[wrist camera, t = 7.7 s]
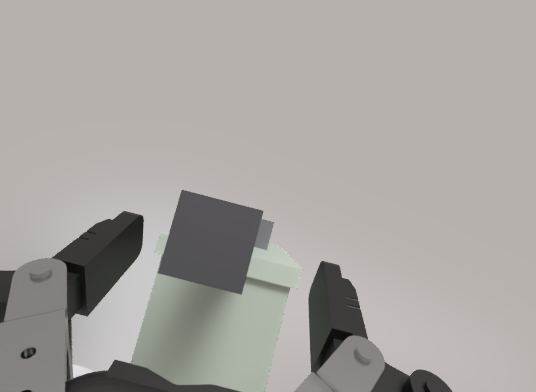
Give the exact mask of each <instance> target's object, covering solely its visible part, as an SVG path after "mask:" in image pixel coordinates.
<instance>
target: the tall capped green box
mask: <svg viewBox="0 0 536 392" xmlns="http://www.w3.org/2000/svg"><path fill="white" fill-rule="evenodd" d="M168 236H169V232H162V233H159V236H158V240H157V243H156V247H155V251H154V253H158V254H162V256H163V253H164V250H165V246H166V243H167V239H168ZM161 260H162V257H161ZM160 263H161V261H160ZM159 267H160V265H159ZM158 270H159V268H158ZM301 273H302V269H301V267H300V266H299V265H298V264H297V263H296V262H295V261H294V260H293V259H292V258H291V257H290V256H289V255H288V254H287V253H286V252H285V250H284V249H283V248H282V247H280V246H277V245H273V244H268V248H267V250H264V249H260V248H256V247H254V249H253V253H252V257H251V261H250V265H249V269H248V272H247V276H246V280H245V284H244V288H243V292H242V295H240V294H237V293H233V292H229V291H225V290H221V289H217V288H213V287H209V286H205V285H201V284H198V283H194V282H190V281H186V280H182V279H178V278H174V277H170V276H166V275H162V274H159V273H158V271H157V275H156V278H155V281H154V285H153V288H152V292H151V295H150V299H149V302H148V306H147V309H146V313H145V316H144V319H143V323H142V326H141V330H140V333H139V337H138V340H137V343H136V347H135V350H134V354H133V357H132V361H131V364H134V365H138V366H142V367H146V368H148V369H150V370H151V371H153V372H155V373H156V374H158V375H160V376H161V377H163V378H165V379H166V380H168V381H170V382H171V383H173V384H176V385H203V384H213V385H217V386H221V387H225V388H229V389H233V390H237V391H241V392H265V389H266V385H267V381H268V376H269V372H270V368H271V364H272V360H273V356H274V352H275V348H276V343H277V339H278V335H279V331H280V327H281V323H282V318H283V315H284V311H285V306H286V302H287V298H288V294H289V290H290V288H294V289H298V286H299V282H300V277H301Z"/></svg>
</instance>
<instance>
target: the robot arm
mask: <svg viewBox="0 0 536 392" xmlns="http://www.w3.org/2000/svg"><path fill="white" fill-rule="evenodd" d="M143 222H144V220H143V216H142V215H138V214H134V213H130V212H126V211H124V212H122V213H121V214H119V215H118V216H117V217H116V218H115V219H113V220H111V219H107V220H105V221H102V222H99V223H97V224H95V225H94V226H93V227H91V228H90V229H89V230H87V232H85V233H83V234H82V235H81V236H80V237H79V238H77V239H76V240H74V241H73V242H72V243H70V244H69V245H68V246H67V247H65V248H64V249H63V250H61V251H60V252H59V253H57V254H56V255H55V256H54V257H52V258H49V259H48V258H46V259H38V260H35V261H31V262H29V263H26V264H25V265H23V266H21V267H20V268H18V269H17V270H16V271H0V392H241V391H237V390H233V389H229V388H225V387H221V386H217V385H213V384H203V385H176V384H173V383H171V382H170V381H168V380H166V379H165V378H163V377H161V376H160V375H158V374H156V373H155V372H153V371H151V370H150V369H148V368H146V367H142V366H138V365H134V364H130V363H126V362H122V361H118V360H114V362H113V364H112V365H111V367H110V368H109V370H108V371H98V372H92V373H88V374H84V375H82V376H79V377H76V378H74V379H73V368H72V323H71V318H72V317H73V316H74V315H75V313H76V314H80V315H84V316H88V315H89V314H90V313H91V312H92V310H93V309H94V308H95V307H96V306H97V304H98V303H99V302H100V301H101V300H102V299H103V297H104V296H105V295H106V294H107V293H108V292H109V290H110V289H111V288H112V287H113V286H114V285H115V283H116V282H117V281H118V280H119V279H120V277H121V276H122V275H123V274H124V272H126V270H127V269H128V268H129V267H130V266H131V265H132V263H133V262H134V261H135V260H136V259H137V257H138V255H139V254H140V251H141V248H142V241H143ZM309 325H310V326H309V327H310V353H311V372H312V373H311V374H310V375H309V376H308V377H307V378H306V379H305V380H304V381H303V382H302V384H301V385H300V386H299V387H298V388H297V389H296V390H295V392H452V391H451V389H450V388H449V387H448V386H447V384H446V383H445V382H444V381H442V380H441V379H440V378H439V377H437V376H436V375H434V374H433V373H431V372H428V371H426V370H416V371H414V372H413V373H412V374H411V375H410V376H408V375H406V374H405V373H403V372H401V371H399V370H397V369H396V368H394V367H392V366H390V365H389V364H387V363H385V362H384V358H383V355H382V354H381V352H380V350H379V349H378V348H377V347H376V346H375V345H374V344H373V343H372V342H371V341H369V340H368V337H367V334H366V329H365V325H364V321H363V317H362V313H361V310H360V306H359V302H358V297H357V294H356V289H355V288H354V287H353V285H352V284H351V282H350V281H349V280H348V279H344V278H342V276H341V271H340V266H339V265H336V264H332V263H328V262H324V261H322V262H321V263H320V265H319V268H318V270H317V273H316V276H315V278H314V281H313V283H312V286H311V289H310V293H309Z"/></svg>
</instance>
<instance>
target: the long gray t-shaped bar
mask: <svg viewBox="0 0 536 392" xmlns="http://www.w3.org/2000/svg"><path fill="white" fill-rule="evenodd" d="M262 215H263V211H261V210H258V209H254V208H250V207H246V206H242V205H238V204H235V203H231V202H227V201H223V200H219V199H215V198H211V197H208V196H204V195H200V194H196V193H192V192H188V191H184V190H182V191H181V194H180V198H179V201H178V205H177V208H176V212H175V215H174V219H173V222H172V226H171V229H170V232H169V236H168V239H167V243H166V246H165V250H164V253H163V256H162V260H161V263H160V267H159V270H158V273H159V274H162V275H166V276H170V277H174V278H178V279H182V280H186V281H190V282H194V283H198V284H201V285H205V286H209V287H213V288H217V289H221V290H225V291H229V292H233V293H237V294H240V295H242V292H243V288H244V284H245V280H246V276H247V272H248V269H249V265H250V261H251V257H252V253H253V249H254V247H256V248H260V249H264V250H267V248H268V244H269V239H270V236H271V232H272V228H273V224H274V222H271V221H267V220H262V219H261V218H262Z"/></svg>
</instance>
